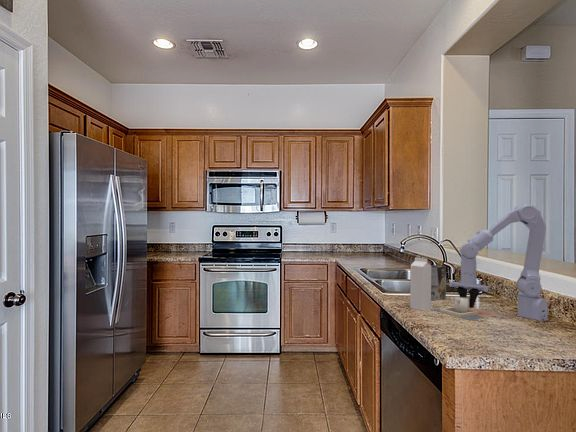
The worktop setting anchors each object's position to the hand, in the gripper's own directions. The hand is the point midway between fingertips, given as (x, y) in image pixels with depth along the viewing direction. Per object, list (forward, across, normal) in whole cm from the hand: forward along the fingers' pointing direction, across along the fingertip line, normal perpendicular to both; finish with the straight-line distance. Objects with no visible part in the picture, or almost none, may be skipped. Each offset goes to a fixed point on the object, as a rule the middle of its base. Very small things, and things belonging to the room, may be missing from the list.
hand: (468, 306), depth 157 cm
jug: (+2, +1, +3) cm, 4 cm away
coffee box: (+3, +21, -17) cm, 27 cm away
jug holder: (+3, 0, +2) cm, 3 cm away
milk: (+3, +16, +9) cm, 18 cm away
